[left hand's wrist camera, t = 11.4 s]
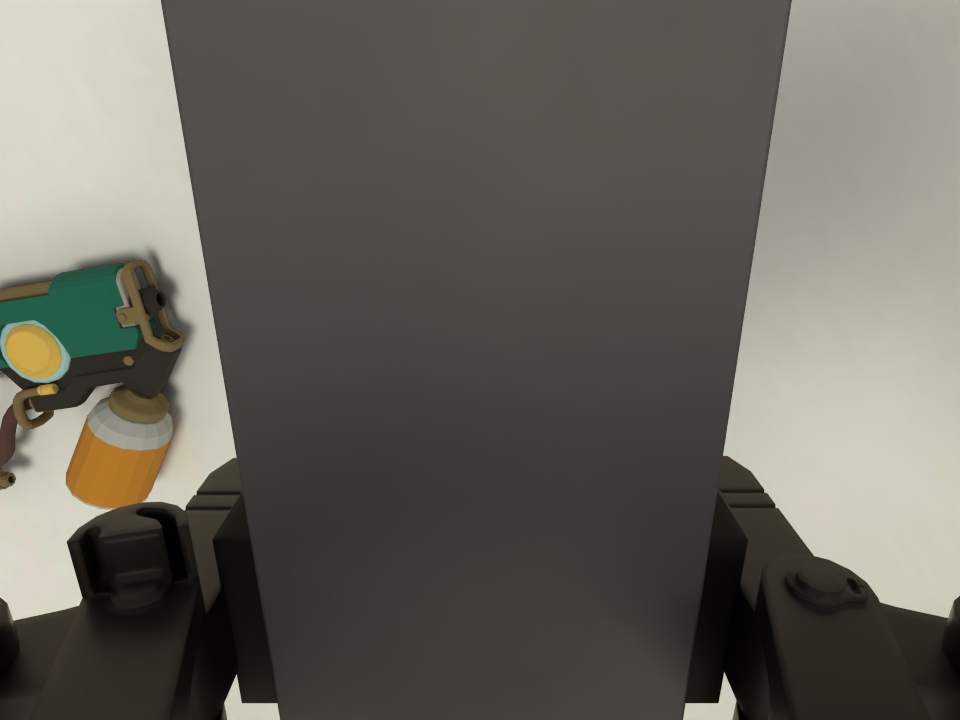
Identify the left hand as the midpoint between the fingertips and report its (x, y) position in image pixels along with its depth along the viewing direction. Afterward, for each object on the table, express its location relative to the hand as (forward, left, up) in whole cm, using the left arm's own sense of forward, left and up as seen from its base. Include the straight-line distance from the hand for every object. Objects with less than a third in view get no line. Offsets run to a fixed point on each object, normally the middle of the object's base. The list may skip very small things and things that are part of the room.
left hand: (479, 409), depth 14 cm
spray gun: (+20, +14, -20) cm, 32 cm away
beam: (-6, +19, -1) cm, 20 cm away
